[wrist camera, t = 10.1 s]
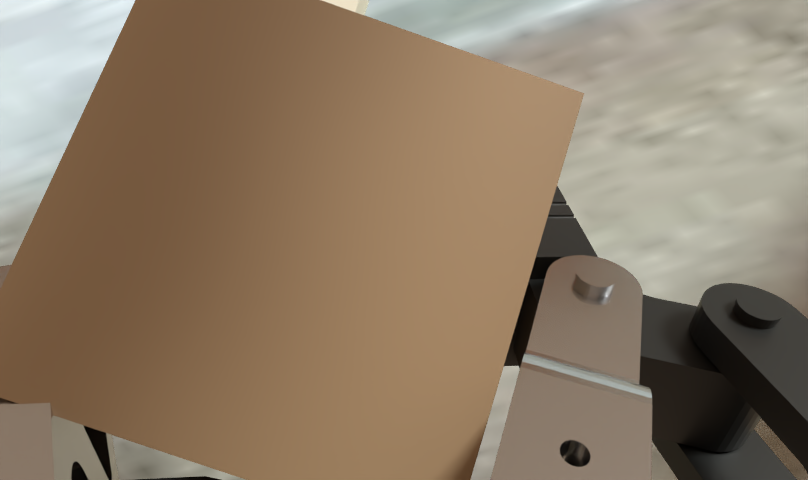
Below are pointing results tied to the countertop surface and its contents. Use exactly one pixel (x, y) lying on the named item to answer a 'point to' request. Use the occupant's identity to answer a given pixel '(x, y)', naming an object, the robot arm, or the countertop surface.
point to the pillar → (287, 243)
